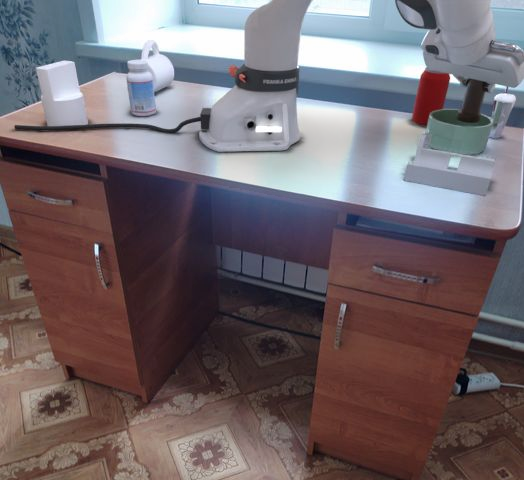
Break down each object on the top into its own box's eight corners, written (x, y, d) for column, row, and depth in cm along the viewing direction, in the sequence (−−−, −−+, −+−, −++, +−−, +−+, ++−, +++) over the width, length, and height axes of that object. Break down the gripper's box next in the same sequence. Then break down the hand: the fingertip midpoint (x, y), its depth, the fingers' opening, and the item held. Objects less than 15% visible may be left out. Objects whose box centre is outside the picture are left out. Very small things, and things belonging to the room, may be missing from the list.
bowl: (445, 159, 105) (453, 129, 102) (411, 139, 115) (417, 111, 111) (497, 153, 109) (506, 124, 105) (460, 134, 118) (467, 107, 114)
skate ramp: (403, 180, 96) (409, 153, 93) (416, 158, 105) (422, 133, 102) (485, 196, 92) (494, 168, 88) (491, 171, 101) (500, 145, 98)
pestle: (465, 123, 107) (483, 56, 99) (451, 116, 110) (468, 51, 102) (483, 122, 108) (503, 55, 100) (469, 115, 112) (488, 50, 103)
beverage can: (436, 120, 126) (449, 66, 119) (441, 128, 121) (454, 73, 114) (409, 118, 127) (420, 64, 119) (412, 126, 122) (424, 71, 114)
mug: (130, 93, 137) (124, 42, 129) (149, 85, 144) (144, 36, 136) (158, 97, 135) (153, 45, 127) (175, 88, 142) (172, 39, 134)
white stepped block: (66, 115, 121) (54, 58, 113) (96, 121, 118) (86, 63, 110) (38, 125, 114) (23, 66, 106) (69, 132, 112) (57, 71, 104)
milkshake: (503, 133, 120) (518, 87, 113) (503, 140, 116) (519, 93, 110) (483, 130, 121) (497, 85, 114) (483, 137, 117) (497, 90, 111)
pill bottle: (161, 112, 124) (156, 61, 117) (144, 118, 121) (138, 65, 113) (143, 108, 127) (137, 57, 120) (125, 113, 123) (118, 61, 116)
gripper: (533, 31, 88) (535, 83, 100) (430, 15, 99) (443, 64, 110) (513, 63, 89) (517, 111, 100) (413, 44, 99) (427, 90, 111)
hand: (477, 86), depth 105 cm, fingers closed on pestle, 4 cm apart
